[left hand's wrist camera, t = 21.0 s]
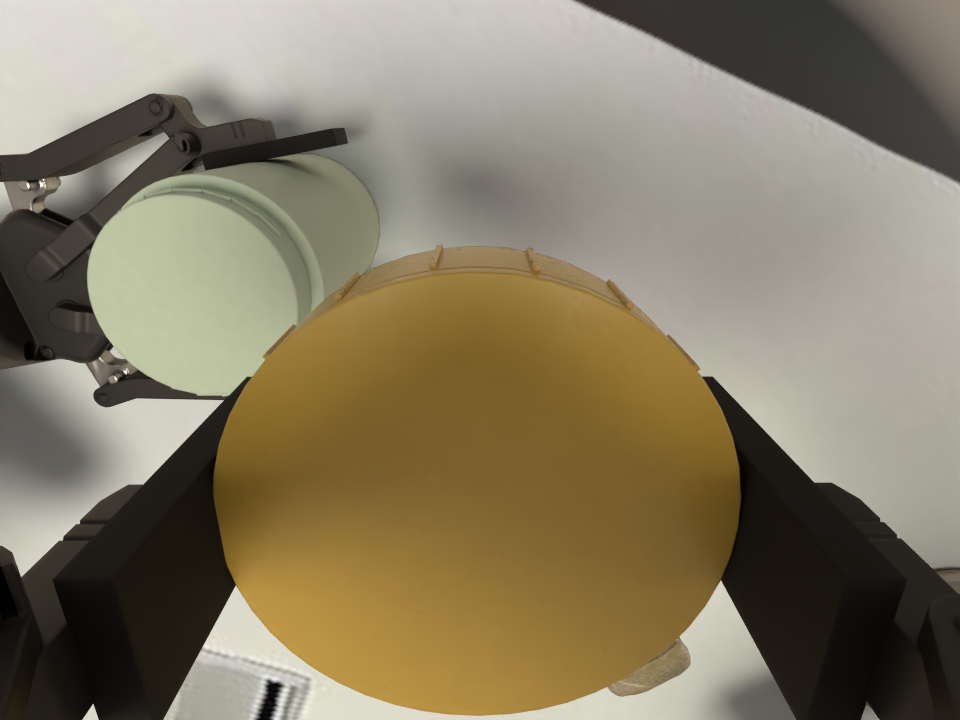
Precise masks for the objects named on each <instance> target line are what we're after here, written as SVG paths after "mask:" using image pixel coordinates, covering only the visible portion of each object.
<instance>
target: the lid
mask: <svg viewBox="0 0 960 720" xmlns="http://www.w3.org/2000/svg"><path fill="white" fill-rule="evenodd" d="M263 358H265V361H264V362H263V363H262V365H261V366H260V367H259V369H258V370H257V371H256V372H255V374H254V375H253V376H252V378H251V379H250V380H249V381H248V383H247V384H246V385H245V387H244V389H243V391H242V392H241V394H240V396H239V398H238V400H237V402H236V403H235V405H234V407H233V409H232V411H231V412H230V414H229V417H228V420H227V423H226V425H225V428H224V431H223V434H222V437H221V439H220V442H219V446H218V451H217V457H216V462H215V468H214V473H213V497H214V503H215V509H216V514H217V519H218V524H219V529H220V534H221V539H222V544H223V550H224V555H225V560H226V564H227V567H228V569H229V571H230V573H231V575H232V577H233V580H234V582H235V584H236V586H237V588H238V589H239V591H240V592H241V594H242V596H243V597H244V599H245V600H246V602H247V603H248V605H249V607H250V608H251V610H252V611H253V612H254V613H255V615H256V616H257V617H258V618H259V619H260V621H261V622H262V623H263V624H264V625H265V626H266V628H267V629H268V630H269V631H270V632H271V633H272V634H273V635H274V636H275V637H276V638H277V639H278V640H279V641H280V642H281V643H282V644H284V645H285V646H286V647H287V648H288V649H289V650H290V651H291V652H292V653H294V654H295V655H296V656H298V657H299V658H301V659H302V660H303V661H305V662H306V663H307V664H309V665H310V666H311V667H313V668H314V669H316V670H317V671H319V672H321V673H323V674H324V675H326V676H328V677H330V678H331V679H333V680H335V681H336V682H338V683H340V684H342V685H345V686H347V687H349V688H351V689H353V690H356V691H358V692H360V693H362V694H365V695H367V696H370V697H373V698H376V699H379V700H382V701H385V702H388V703H391V704H395V705H399V706H403V707H408V708H412V709H416V710H421V711H428V712H435V713H443V714H451V715H477V716H483V715H500V714H513V713H519V712H526V711H533V710H539V709H543V708H547V707H551V706H555V705H559V704H563V703H567V702H570V701H573V700H575V699H578V698H581V697H584V696H587V695H589V694H592V693H595V692H597V691H599V690H601V689H603V688H605V687H607V686H610V685H612V684H614V683H616V682H618V681H620V680H622V679H623V678H625V677H627V676H628V675H630V674H632V673H633V672H635V671H636V670H638V669H640V668H641V667H643V666H645V665H646V664H647V663H649V662H650V661H651V660H652V659H654V658H655V657H656V656H658V655H659V654H660V653H661V652H663V651H664V650H665V649H667V648H668V647H669V646H670V645H671V644H672V643H673V642H674V641H675V640H676V639H677V638H678V637H679V636H680V635H681V634H682V633H683V632H684V631H685V630H686V629H687V628H688V627H689V626H690V625H691V623H692V622H693V621H694V620H695V618H696V617H697V616H698V614H699V613H700V612H701V611H702V609H703V608H704V607H705V606H706V604H707V602H708V601H709V599H710V597H711V596H712V594H713V592H714V591H715V589H716V587H717V586H718V584H719V582H720V580H721V578H722V576H723V573H724V571H725V568H726V566H727V564H728V561H729V559H730V557H731V554H732V550H733V546H734V542H735V538H736V534H737V530H738V526H739V516H740V506H741V485H740V468H739V463H738V459H737V454H736V450H735V445H734V441H733V437H732V434H731V432H730V429H729V427H728V424H727V422H726V419H725V417H724V414H723V412H722V409H721V407H720V406H719V404H718V402H717V401H716V399H715V397H714V396H713V394H712V392H711V390H710V389H709V387H708V385H707V384H706V382H705V380H704V379H703V378H702V377H701V376H700V374H699V373H698V372H697V371H698V370H700V368H699V366H698V365H697V364H696V363H695V362H694V361H693V360H692V359H691V357H690V356H689V355H688V354H687V353H686V352H685V351H684V350H683V349H682V348H681V347H680V346H679V345H678V344H677V343H676V342H675V341H674V339H673V338H672V337H671V336H670V335H668V336H666V335H665V334H664V333H663V332H662V331H661V330H660V329H659V328H658V327H657V326H656V325H655V323H654V322H653V321H652V320H651V319H650V318H649V317H648V316H647V315H646V314H645V313H644V312H643V311H642V310H641V309H639V308H638V307H637V306H636V305H635V304H634V303H633V302H632V301H631V300H629V299H628V298H627V297H626V296H625V295H624V293H623V292H622V291H621V290H620V289H619V288H618V287H617V286H616V285H615V284H614V282H612V281H611V280H608V281H607V283H606V282H604V281H603V280H601V279H600V278H598V277H596V276H594V275H592V274H590V273H588V272H586V271H584V270H582V269H580V268H577V267H575V266H573V265H571V264H569V263H566V262H563V261H560V260H557V259H554V258H551V257H547V256H544V255H541V254H538V253H534V251H533V249H532V248H528V247H527V250H526V251H522V250H516V249H511V248H502V247H483V246H468V247H455V248H443V245H438V246H436V249H435V250H432V251H427V252H423V253H418V254H413V255H409V256H406V257H403V258H400V259H397V260H395V261H392V262H389V263H386V264H383V265H381V266H378V267H376V268H374V269H372V270H370V271H368V272H366V273H364V274H363V275H361V276H360V274H359V273H358V272H357V273H355V274H353V276H352V277H351V278H350V279H349V280H348V281H347V282H346V283H345V284H344V286H342V287H341V288H340V289H338V290H337V291H335V292H334V293H333V294H331V295H330V296H328V297H327V298H326V299H324V300H323V301H322V302H321V303H320V304H319V305H318V306H317V307H316V308H315V309H314V310H313V311H312V312H311V313H310V314H309V315H308V316H307V317H306V318H304V319H303V320H302V322H301V323H300V324H299V325H298V326H296V325H294V324H293V325H292V326H291V327H290V328H289V329H288V330H287V331H286V332H285V333H284V334H283V335H282V336H281V337H280V338H279V339H278V340H277V341H276V342H275V343H274V345H273V346H272V347H271V348H270V349H269V350H268V351H267V352H266V353H265V354H264V355H263Z"/></svg>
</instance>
